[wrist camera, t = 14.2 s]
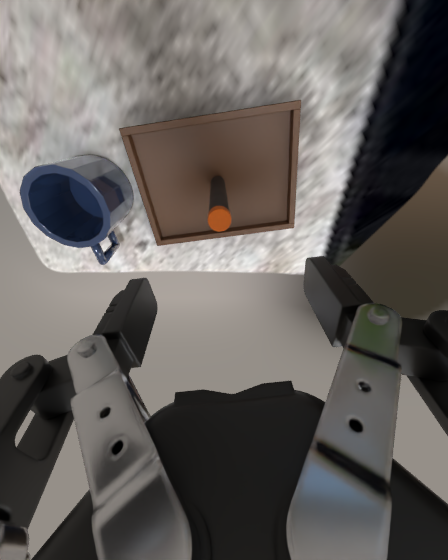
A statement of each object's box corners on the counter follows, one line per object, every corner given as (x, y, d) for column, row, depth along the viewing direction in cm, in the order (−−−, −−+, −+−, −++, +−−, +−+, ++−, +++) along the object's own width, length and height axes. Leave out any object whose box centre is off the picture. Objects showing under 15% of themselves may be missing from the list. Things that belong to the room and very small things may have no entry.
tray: (124, 128, 29) (118, 128, 27) (296, 101, 28) (301, 100, 26) (159, 240, 37) (157, 245, 36) (290, 223, 36) (294, 227, 35)
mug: (52, 160, 30) (-1, 172, 23) (118, 149, 30) (87, 158, 23) (95, 245, 38) (65, 275, 30) (149, 238, 37) (132, 266, 30)
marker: (209, 176, 32) (205, 210, 19) (224, 174, 32) (230, 207, 19) (211, 191, 33) (209, 233, 21) (226, 190, 33) (232, 230, 20)
